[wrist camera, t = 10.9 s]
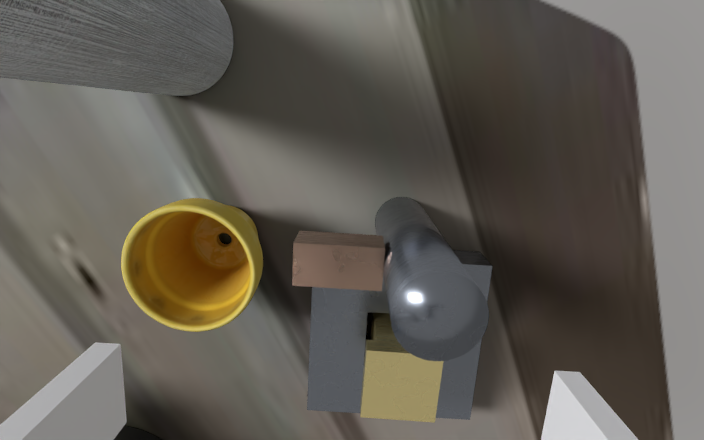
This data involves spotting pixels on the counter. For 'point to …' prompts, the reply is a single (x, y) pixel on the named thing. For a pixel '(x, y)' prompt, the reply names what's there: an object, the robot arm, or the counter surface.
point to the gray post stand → (392, 304)
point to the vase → (117, 43)
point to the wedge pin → (397, 378)
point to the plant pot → (192, 264)
